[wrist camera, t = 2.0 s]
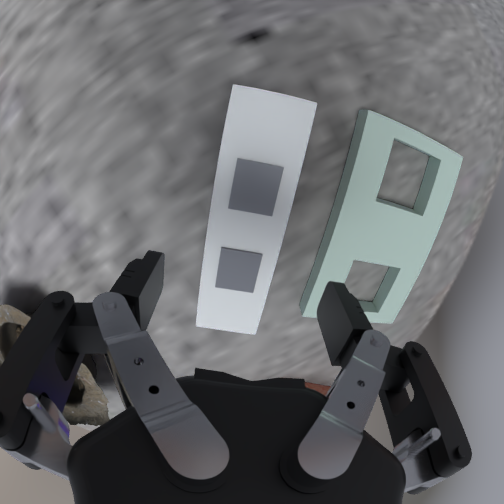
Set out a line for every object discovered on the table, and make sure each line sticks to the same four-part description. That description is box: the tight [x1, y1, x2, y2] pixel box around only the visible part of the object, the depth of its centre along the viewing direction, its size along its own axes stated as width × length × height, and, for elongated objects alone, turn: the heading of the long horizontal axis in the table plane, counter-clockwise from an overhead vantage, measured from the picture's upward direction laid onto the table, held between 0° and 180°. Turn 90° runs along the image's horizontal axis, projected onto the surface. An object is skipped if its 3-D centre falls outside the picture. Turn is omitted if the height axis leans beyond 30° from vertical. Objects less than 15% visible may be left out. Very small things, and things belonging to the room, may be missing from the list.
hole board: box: [299, 110, 463, 324], centre depth 25 cm, size 21×12×2 cm, turn 169°
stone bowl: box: [0, 304, 110, 426], centre depth 30 cm, size 25×25×9 cm
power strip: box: [196, 84, 317, 334], centre depth 21 cm, size 18×5×7 cm, turn 169°
